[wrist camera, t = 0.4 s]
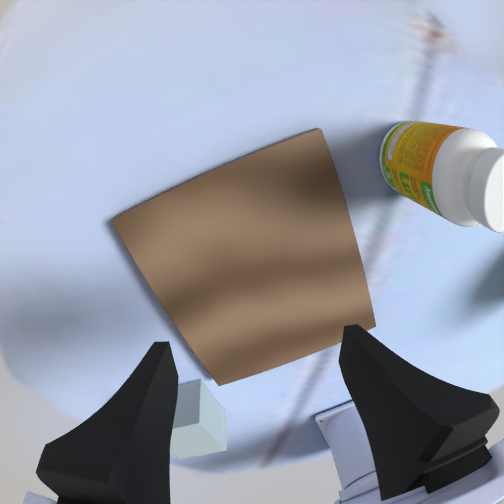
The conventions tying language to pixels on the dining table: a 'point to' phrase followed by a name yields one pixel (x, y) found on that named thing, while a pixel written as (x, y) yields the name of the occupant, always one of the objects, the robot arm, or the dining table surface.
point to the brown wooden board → (254, 258)
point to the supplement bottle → (446, 171)
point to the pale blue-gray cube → (197, 422)
